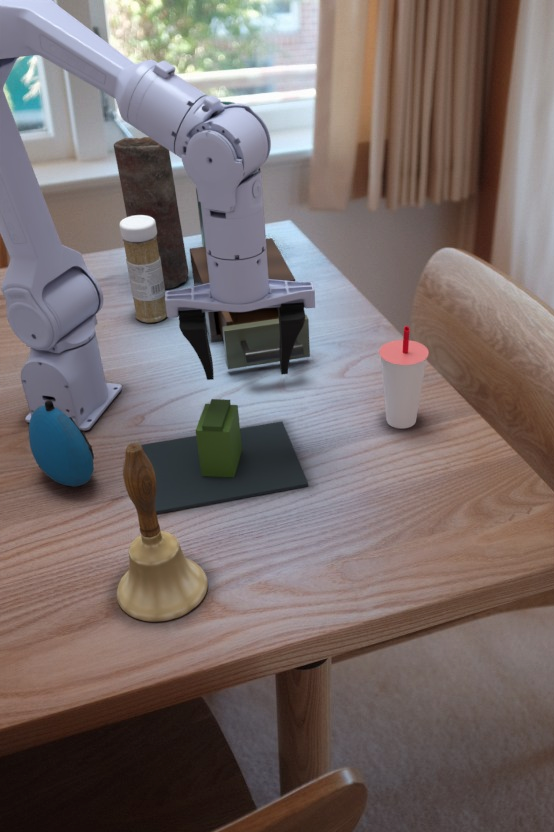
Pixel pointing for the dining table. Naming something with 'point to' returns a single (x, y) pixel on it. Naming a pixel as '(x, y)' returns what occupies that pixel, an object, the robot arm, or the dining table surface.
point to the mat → (255, 475)
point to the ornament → (60, 446)
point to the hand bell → (155, 555)
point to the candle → (153, 200)
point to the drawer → (257, 337)
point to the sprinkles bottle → (144, 267)
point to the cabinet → (201, 276)
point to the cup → (402, 379)
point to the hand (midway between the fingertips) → (247, 372)
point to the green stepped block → (219, 439)
